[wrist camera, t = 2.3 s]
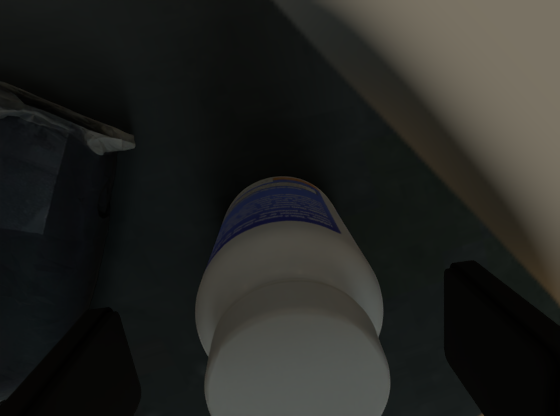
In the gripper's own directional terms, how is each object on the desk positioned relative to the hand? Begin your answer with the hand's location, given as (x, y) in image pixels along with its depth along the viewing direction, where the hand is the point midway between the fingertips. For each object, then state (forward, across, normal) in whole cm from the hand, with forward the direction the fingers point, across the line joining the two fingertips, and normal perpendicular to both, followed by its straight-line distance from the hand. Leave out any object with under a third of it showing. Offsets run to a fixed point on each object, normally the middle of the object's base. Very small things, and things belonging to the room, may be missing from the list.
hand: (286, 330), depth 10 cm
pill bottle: (+7, 0, 0) cm, 7 cm away
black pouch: (+7, +13, -2) cm, 15 cm away
